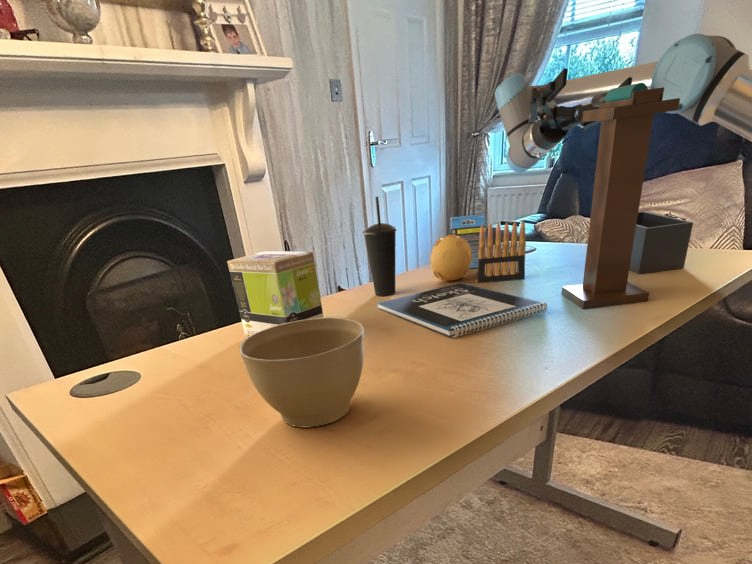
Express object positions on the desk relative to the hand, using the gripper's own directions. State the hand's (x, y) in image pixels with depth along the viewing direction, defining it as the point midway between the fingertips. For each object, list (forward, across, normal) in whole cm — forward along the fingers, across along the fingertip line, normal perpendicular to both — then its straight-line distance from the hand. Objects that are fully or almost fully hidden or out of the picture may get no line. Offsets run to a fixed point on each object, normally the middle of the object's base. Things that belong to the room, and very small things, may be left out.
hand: (597, 80), depth 102 cm
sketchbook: (+1, +26, -44) cm, 51 cm away
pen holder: (-10, -21, -29) cm, 37 cm away
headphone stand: (+9, -1, -41) cm, 42 cm away
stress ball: (-23, +20, -34) cm, 45 cm away
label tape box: (-32, +13, -28) cm, 45 cm away
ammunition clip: (-15, +10, -34) cm, 39 cm away
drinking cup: (-21, +37, -38) cm, 57 cm away
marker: (+16, +4, -12) cm, 20 cm away
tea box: (-3, +60, -50) cm, 78 cm away
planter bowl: (+36, +56, -64) cm, 92 cm away
